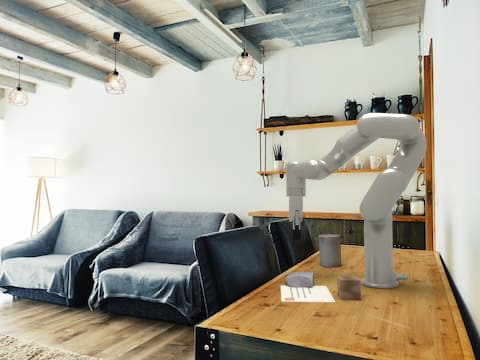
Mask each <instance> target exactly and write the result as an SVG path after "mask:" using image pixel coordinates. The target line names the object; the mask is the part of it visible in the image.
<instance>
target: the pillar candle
mask: <svg viewBox="0 0 480 360" xmlns="http://www.w3.org/2000/svg"><path fill="white" fill-rule="evenodd" d="M330 233H331V232H329V234H328V233H327V234H324V233H323V234H319V235H318V251H319V252H318V253H319V266H320V267H326V268H339V267H341V266H342V247H341V246H342V245H341V234H336V233H331V234H330Z"/></svg>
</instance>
